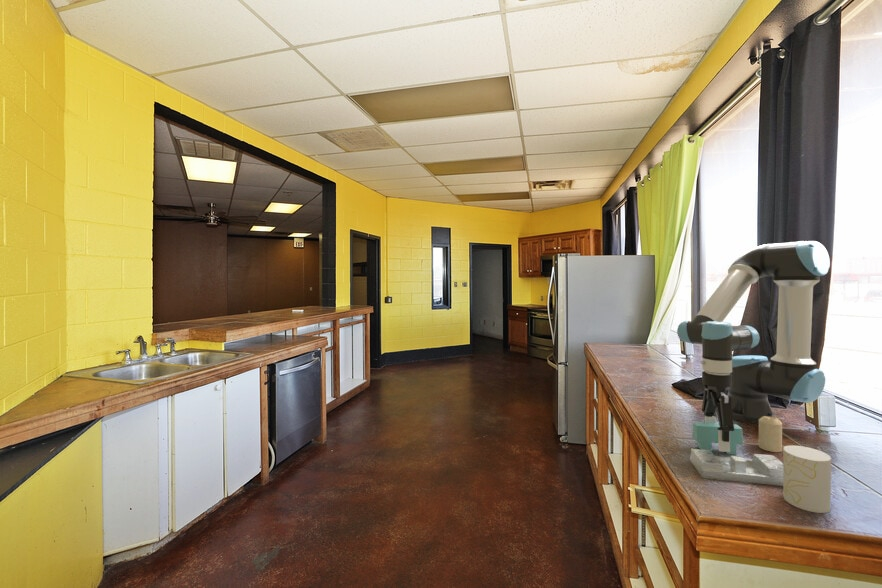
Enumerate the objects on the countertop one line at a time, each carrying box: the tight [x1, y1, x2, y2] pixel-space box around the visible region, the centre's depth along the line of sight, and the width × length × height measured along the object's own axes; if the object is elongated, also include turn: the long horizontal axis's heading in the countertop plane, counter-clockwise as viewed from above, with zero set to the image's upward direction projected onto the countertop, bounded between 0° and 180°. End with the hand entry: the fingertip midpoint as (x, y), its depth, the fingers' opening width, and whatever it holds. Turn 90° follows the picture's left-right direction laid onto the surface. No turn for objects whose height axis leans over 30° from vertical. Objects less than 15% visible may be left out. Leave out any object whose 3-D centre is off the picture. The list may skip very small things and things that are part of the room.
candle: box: [758, 416, 783, 453], centre depth 118 cm, size 6×6×10 cm
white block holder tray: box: [689, 448, 783, 487], centre depth 105 cm, size 20×10×4 cm, turn 74°
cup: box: [782, 445, 832, 514], centre depth 91 cm, size 8×8×12 cm
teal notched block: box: [692, 421, 744, 456], centre depth 118 cm, size 12×4×8 cm, turn 74°
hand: (716, 443), depth 118 cm, fingers open, 10 cm apart
